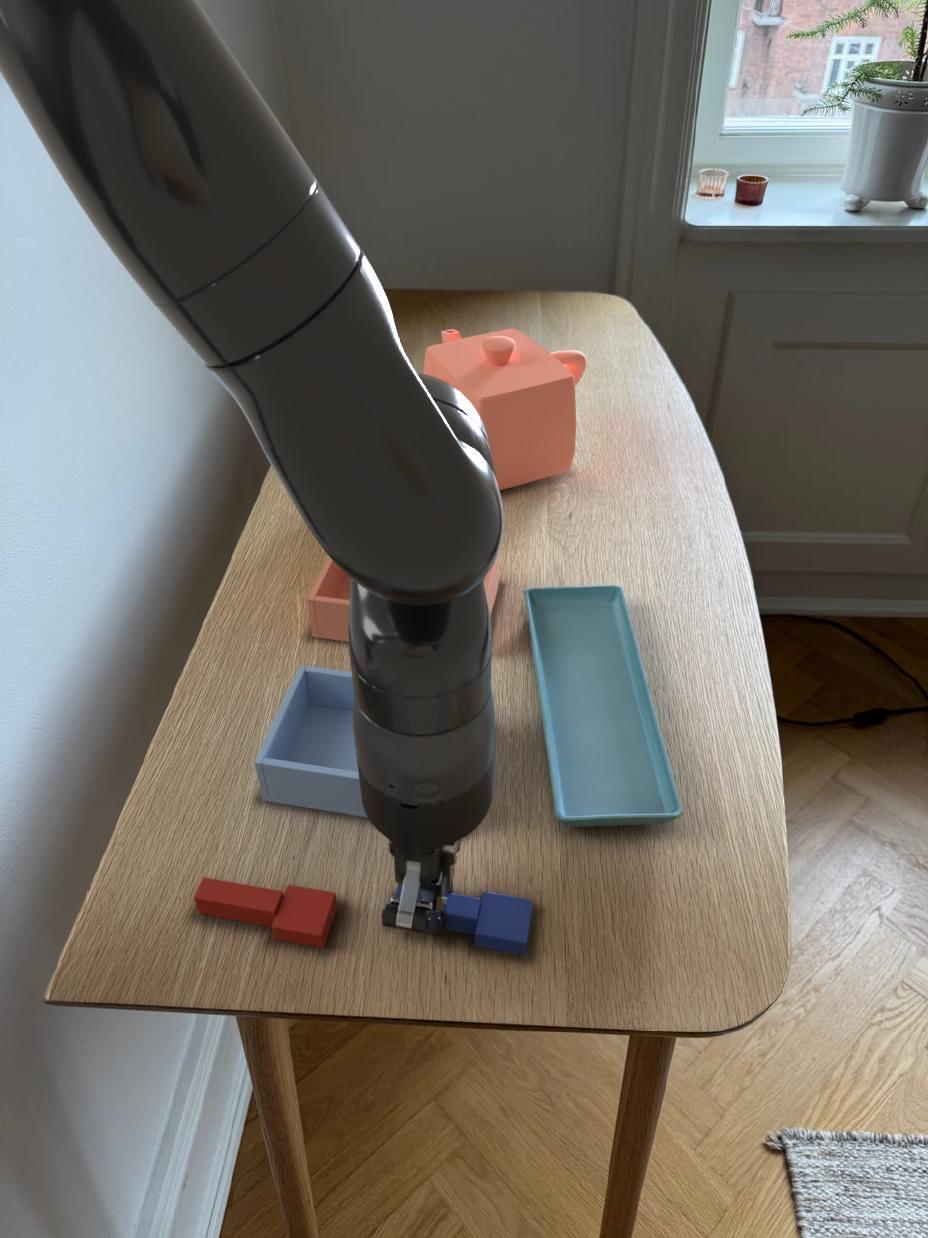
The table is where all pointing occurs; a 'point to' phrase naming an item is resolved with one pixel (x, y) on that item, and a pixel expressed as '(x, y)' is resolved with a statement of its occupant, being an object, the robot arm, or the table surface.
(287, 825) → the table surface
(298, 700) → the blue bin
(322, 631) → the red bin
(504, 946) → the blue stepped block
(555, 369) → the teapot
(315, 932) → the red mallet block
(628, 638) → the rectangular tray
